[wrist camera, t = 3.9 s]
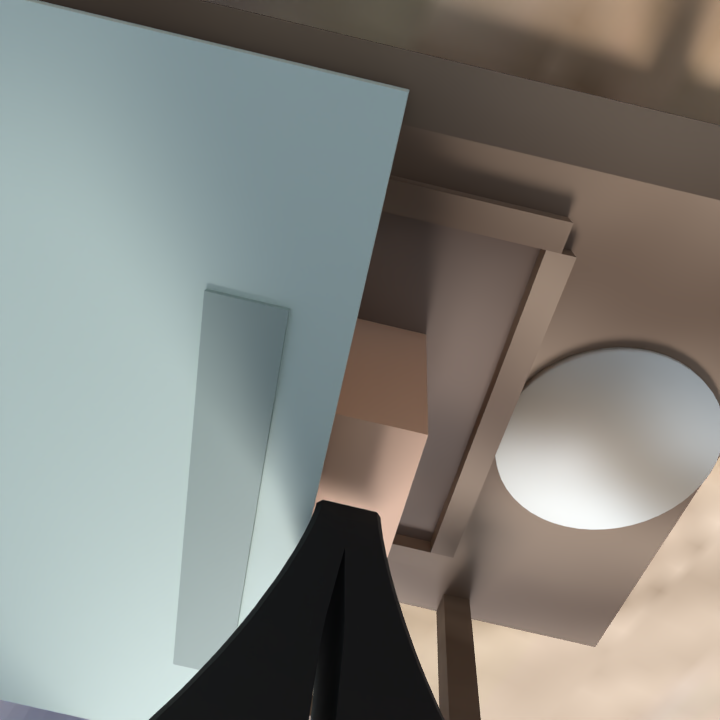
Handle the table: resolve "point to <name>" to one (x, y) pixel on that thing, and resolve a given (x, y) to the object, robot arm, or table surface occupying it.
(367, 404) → the block
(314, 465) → the slide cover
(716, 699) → the table surface
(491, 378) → the puzzle board
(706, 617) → the table surface
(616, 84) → the table surface
